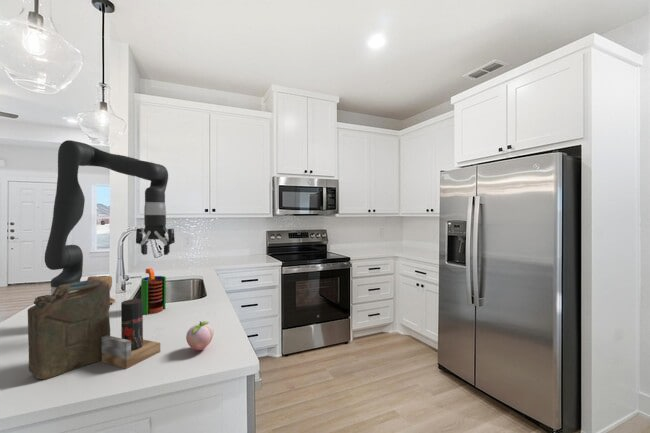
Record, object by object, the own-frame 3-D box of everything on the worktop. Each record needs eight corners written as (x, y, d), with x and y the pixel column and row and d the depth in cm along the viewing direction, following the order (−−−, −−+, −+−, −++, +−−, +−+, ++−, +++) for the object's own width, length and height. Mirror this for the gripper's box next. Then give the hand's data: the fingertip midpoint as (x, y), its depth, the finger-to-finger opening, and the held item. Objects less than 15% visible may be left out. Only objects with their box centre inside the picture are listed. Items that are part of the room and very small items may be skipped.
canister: (101, 350, 106) (100, 277, 105) (113, 357, 101) (112, 280, 100) (26, 375, 90) (25, 289, 89) (36, 384, 85) (35, 293, 85)
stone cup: (111, 299, 164) (111, 271, 164) (117, 304, 156) (117, 275, 156) (75, 306, 153) (74, 276, 153) (79, 311, 145) (78, 280, 145)
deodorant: (147, 345, 103) (146, 300, 103) (129, 352, 97) (128, 305, 97) (135, 342, 105) (135, 298, 105) (117, 349, 100) (117, 302, 100)
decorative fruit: (193, 344, 111) (193, 316, 110) (216, 344, 110) (216, 316, 110) (180, 356, 101) (180, 326, 101) (205, 357, 101) (205, 326, 101)
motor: (152, 315, 140) (152, 271, 140) (135, 314, 142) (135, 270, 142) (168, 308, 150) (168, 267, 150) (152, 307, 152) (152, 266, 152)
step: (101, 362, 97) (101, 337, 97) (136, 346, 109) (136, 323, 108) (126, 368, 94) (126, 342, 93) (160, 351, 105) (160, 328, 105)
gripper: (131, 213, 119) (131, 255, 120) (168, 214, 119) (168, 256, 120) (143, 213, 127) (143, 253, 127) (177, 213, 127) (177, 253, 127)
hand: (155, 254), depth 123 cm, fingers open, 8 cm apart
